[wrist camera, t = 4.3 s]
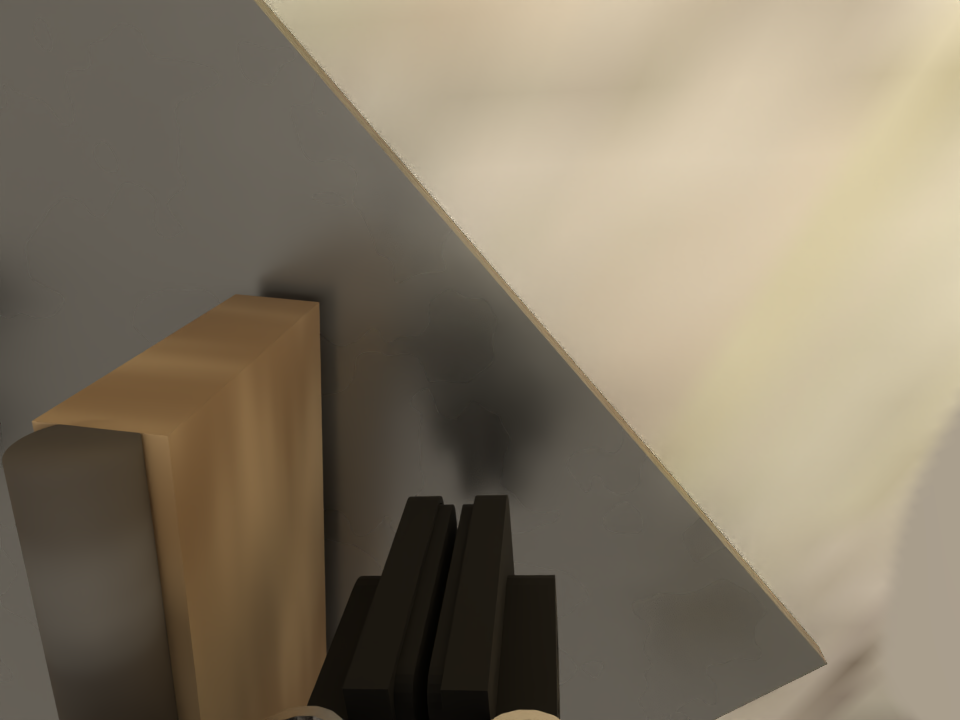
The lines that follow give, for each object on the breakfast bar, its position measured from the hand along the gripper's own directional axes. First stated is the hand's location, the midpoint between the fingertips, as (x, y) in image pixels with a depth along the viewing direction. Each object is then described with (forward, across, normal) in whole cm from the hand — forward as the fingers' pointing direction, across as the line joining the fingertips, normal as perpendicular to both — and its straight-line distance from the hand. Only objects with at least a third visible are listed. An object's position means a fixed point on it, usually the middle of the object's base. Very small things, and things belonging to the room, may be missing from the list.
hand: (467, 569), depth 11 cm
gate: (+2, +4, +2) cm, 5 cm away
